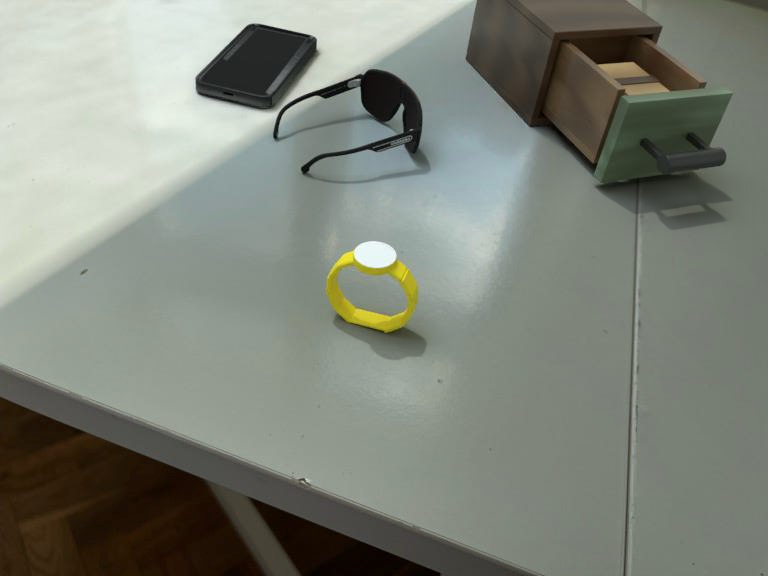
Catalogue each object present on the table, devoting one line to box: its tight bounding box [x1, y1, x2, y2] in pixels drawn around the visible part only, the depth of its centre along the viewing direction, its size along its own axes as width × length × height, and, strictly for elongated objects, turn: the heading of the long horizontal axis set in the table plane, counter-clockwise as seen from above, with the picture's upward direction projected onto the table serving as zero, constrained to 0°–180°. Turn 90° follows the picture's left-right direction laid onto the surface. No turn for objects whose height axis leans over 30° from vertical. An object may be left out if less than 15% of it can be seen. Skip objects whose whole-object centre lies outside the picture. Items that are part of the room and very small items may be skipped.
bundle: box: [598, 62, 670, 96], centre depth 72 cm, size 7×5×5 cm
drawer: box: [541, 35, 734, 184], centre depth 71 cm, size 18×11×8 cm, turn 21°
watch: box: [325, 240, 419, 334], centre depth 51 cm, size 6×3×6 cm, turn 72°
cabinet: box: [465, 0, 664, 127], centre depth 80 cm, size 15×12×10 cm
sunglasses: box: [272, 68, 424, 174], centre depth 69 cm, size 11×12×5 cm
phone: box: [194, 23, 318, 109], centre depth 78 cm, size 8×1×15 cm
